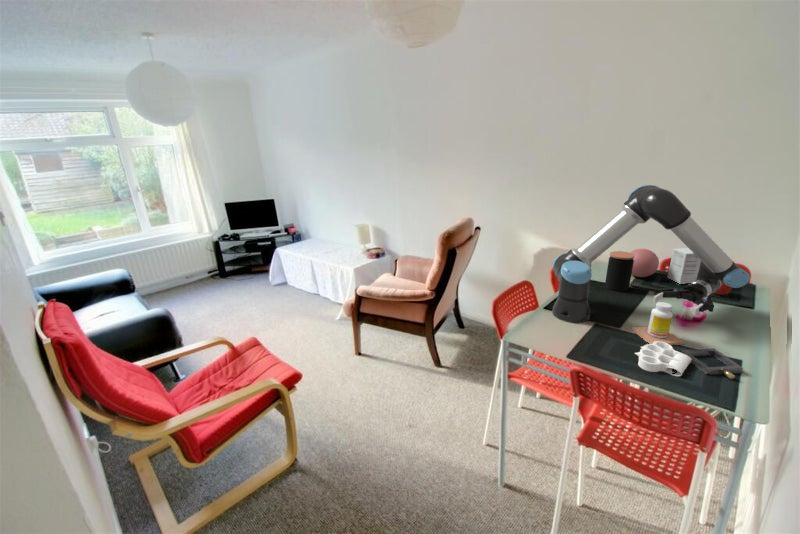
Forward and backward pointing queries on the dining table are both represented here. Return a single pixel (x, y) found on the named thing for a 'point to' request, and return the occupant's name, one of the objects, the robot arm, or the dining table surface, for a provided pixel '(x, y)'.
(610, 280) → the coffee jar
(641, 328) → the terracotta tile
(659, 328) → the supplement bottle
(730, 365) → the dark gray square frame
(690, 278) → the supplement box
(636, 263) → the balloon
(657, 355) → the knuckle duster
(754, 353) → the dining table surface
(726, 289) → the apple
